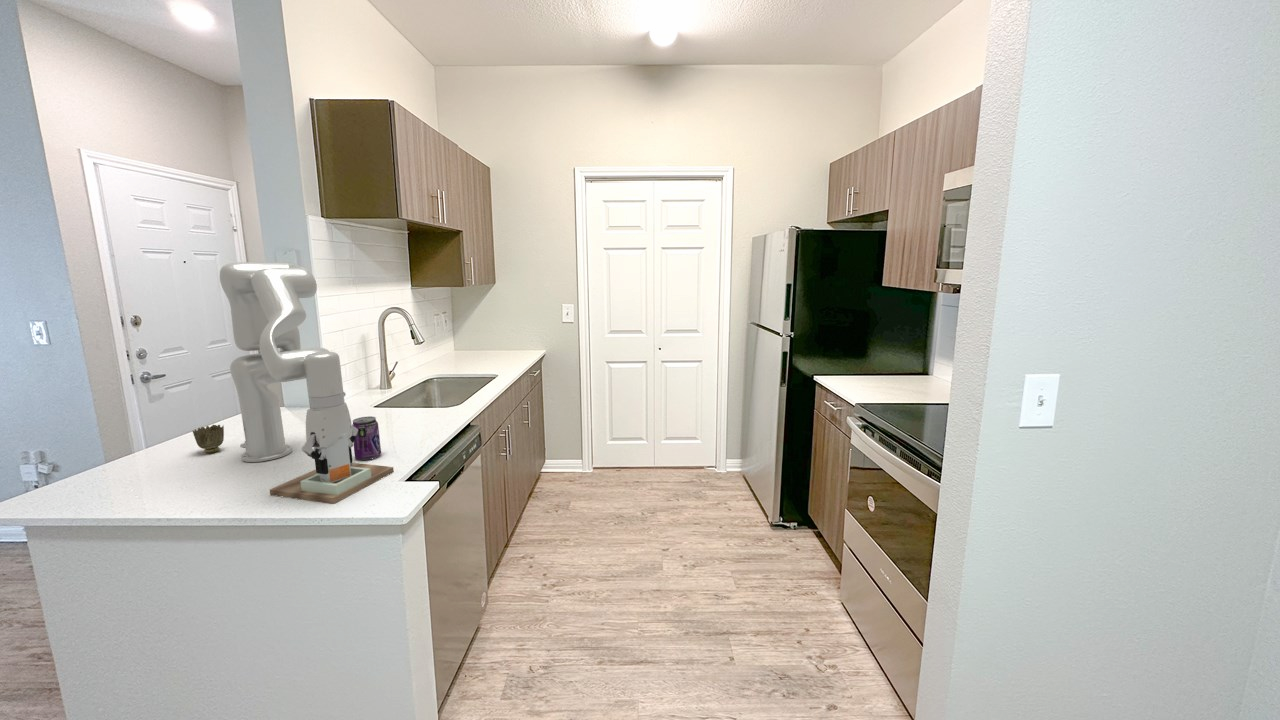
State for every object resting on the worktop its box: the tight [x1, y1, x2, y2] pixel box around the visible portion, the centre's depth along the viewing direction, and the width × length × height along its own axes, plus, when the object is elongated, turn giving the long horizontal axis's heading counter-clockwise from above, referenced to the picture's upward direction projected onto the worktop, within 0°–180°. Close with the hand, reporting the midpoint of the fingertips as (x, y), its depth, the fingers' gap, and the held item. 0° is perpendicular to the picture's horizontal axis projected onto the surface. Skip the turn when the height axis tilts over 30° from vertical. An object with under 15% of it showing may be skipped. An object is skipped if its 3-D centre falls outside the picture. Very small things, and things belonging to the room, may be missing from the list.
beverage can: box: [351, 416, 382, 461], centre depth 151 cm, size 7×7×12 cm
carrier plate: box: [269, 462, 395, 505], centre depth 133 cm, size 20×20×2 cm
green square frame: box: [300, 467, 371, 495], centre depth 129 cm, size 11×11×2 cm
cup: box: [192, 424, 225, 454], centre depth 157 cm, size 8×7×8 cm
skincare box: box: [319, 433, 351, 483], centre depth 128 cm, size 6×4×12 cm
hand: (335, 467), depth 129 cm, fingers closed on skincare box, 6 cm apart
